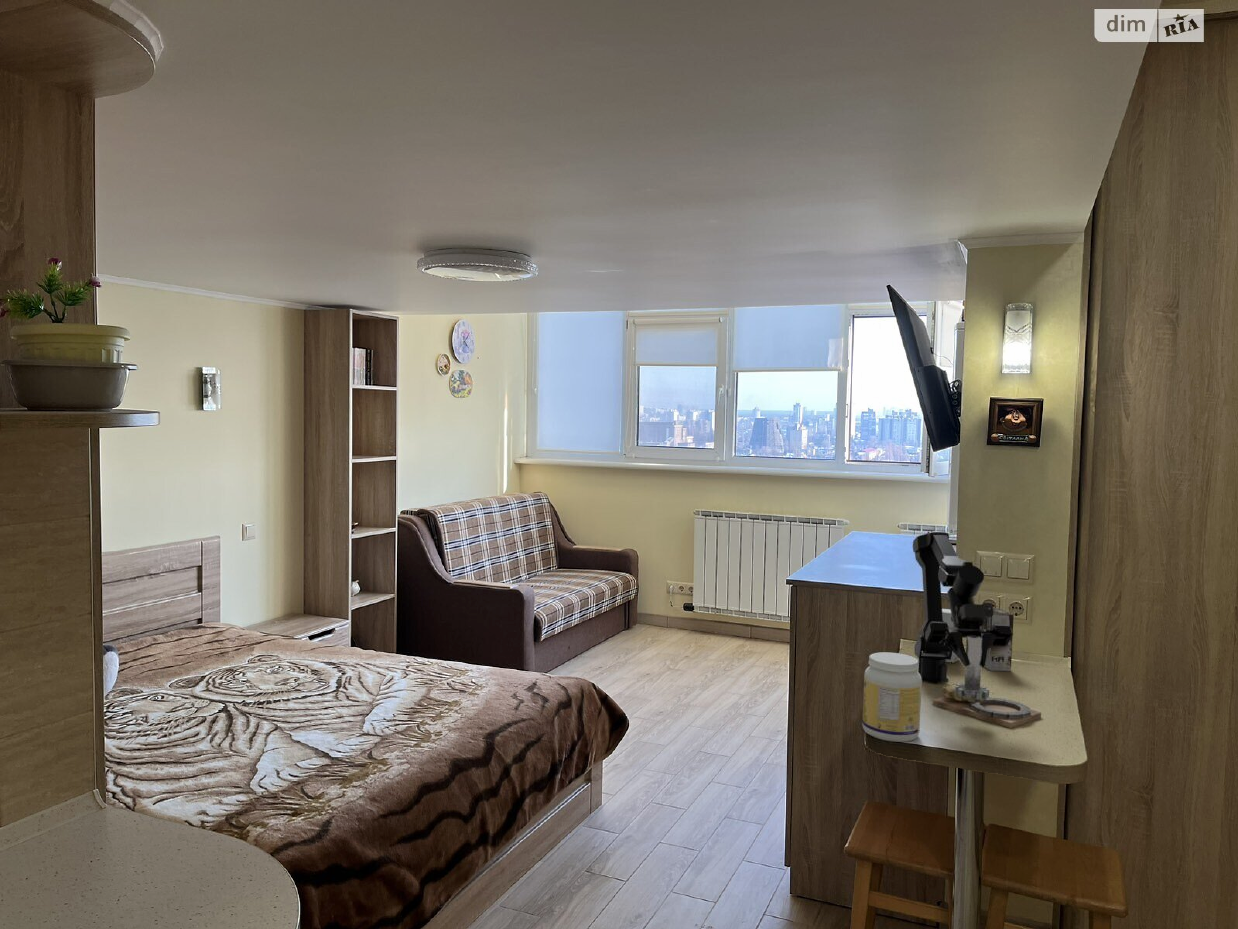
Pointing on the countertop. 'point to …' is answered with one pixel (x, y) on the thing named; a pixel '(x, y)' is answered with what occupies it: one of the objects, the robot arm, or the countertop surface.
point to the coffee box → (998, 655)
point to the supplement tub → (892, 697)
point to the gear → (973, 671)
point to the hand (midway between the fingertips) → (975, 666)
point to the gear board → (987, 708)
